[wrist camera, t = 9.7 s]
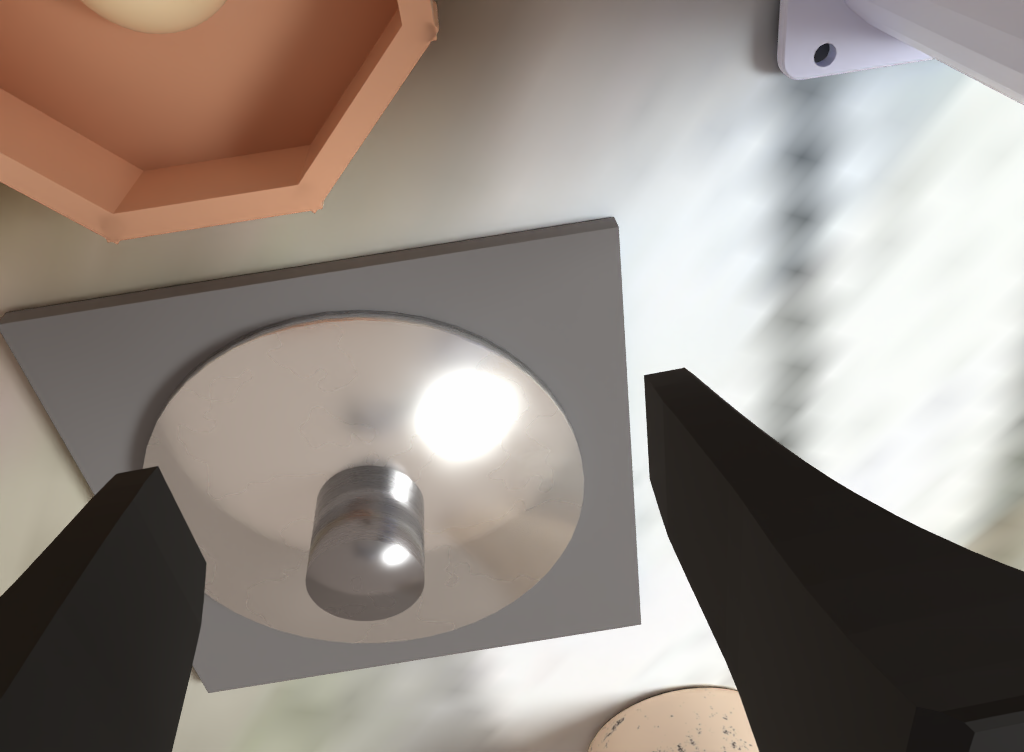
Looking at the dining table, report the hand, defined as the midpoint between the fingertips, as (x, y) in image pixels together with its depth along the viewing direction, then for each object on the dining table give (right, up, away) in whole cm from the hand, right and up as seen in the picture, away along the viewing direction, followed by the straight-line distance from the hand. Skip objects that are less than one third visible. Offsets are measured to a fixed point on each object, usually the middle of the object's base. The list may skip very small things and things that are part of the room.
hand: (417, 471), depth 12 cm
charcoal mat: (-3, -2, +14) cm, 14 cm away
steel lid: (-3, -2, +13) cm, 14 cm away
